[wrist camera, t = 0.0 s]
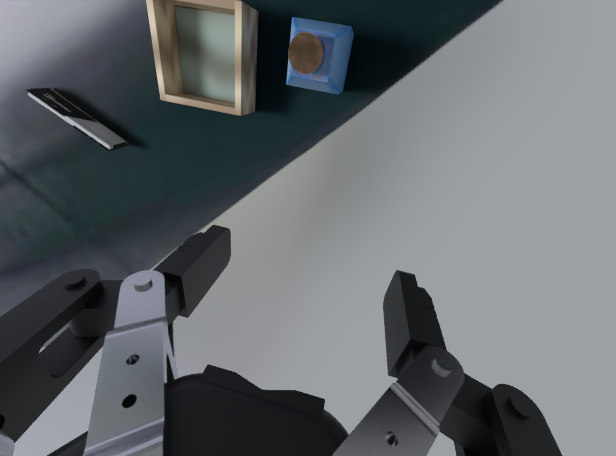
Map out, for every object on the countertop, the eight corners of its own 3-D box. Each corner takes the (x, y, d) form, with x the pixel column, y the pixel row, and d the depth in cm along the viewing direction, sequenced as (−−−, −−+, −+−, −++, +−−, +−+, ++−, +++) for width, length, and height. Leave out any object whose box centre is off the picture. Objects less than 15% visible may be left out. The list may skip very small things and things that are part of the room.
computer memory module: (49, 92, 43) (22, 93, 40) (50, 86, 42) (22, 87, 39) (129, 147, 45) (110, 153, 42) (130, 142, 45) (111, 148, 41)
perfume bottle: (353, 34, 31) (346, 15, 21) (342, 91, 34) (332, 98, 24) (304, 26, 31) (274, 3, 21) (298, 83, 35) (270, 86, 25)
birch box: (173, -2, 33) (144, -15, 28) (258, 11, 32) (241, 1, 27) (183, 97, 39) (160, 99, 35) (254, 111, 38) (240, 115, 33)
